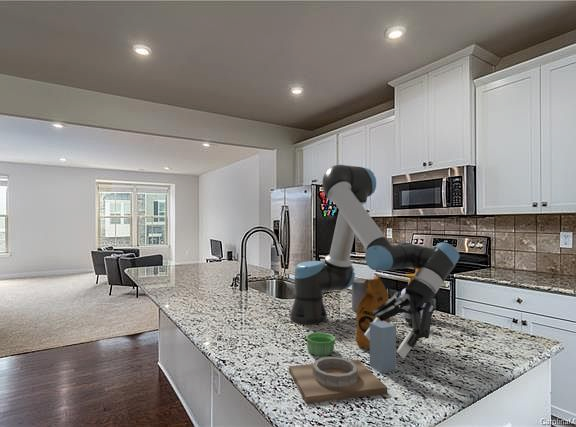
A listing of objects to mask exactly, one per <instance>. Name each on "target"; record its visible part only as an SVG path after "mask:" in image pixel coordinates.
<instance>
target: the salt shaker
mask: <svg viewBox="0 0 576 427" xmlns="http://www.w3.org/2000/svg"><path fill="white" fill-rule="evenodd" d="M403 318H404V319H405V323H406V324H405V327H406V328H410V329H413V324H412V315H410V314H407V315H405V316H404V317H403Z"/></svg>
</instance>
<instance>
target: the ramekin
mask: <svg viewBox="0 0 576 427" xmlns="http://www.w3.org/2000/svg"><path fill="white" fill-rule="evenodd" d="M305 339H306V342H307V351H308V353H310V354H311V355H314V356H321V357H327V356H330V355H332V354H333V353H334V350H335V341H336V337H335V336H334V335H333V334H330V333H327V332H311V333H309V334H307V335H306V337H305Z"/></svg>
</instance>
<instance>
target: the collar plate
mask: <svg viewBox="0 0 576 427" xmlns="http://www.w3.org/2000/svg"><path fill="white" fill-rule="evenodd" d="M288 367H289V369H288V373H289V375H290V376H291V378H292V381H293V382H294V384H295V386H296V388H297V389H298V392H299V393H300V395H301V397H302V398H303V401H304V403H305V405H306V404H308V405H309V404H315V403H323V402H331V401H332V402H333V401H339V400H348V399H355V398H356V399H357V398H365V397H373V396H381V395H388V386H387V385H386V384H385V383H384V382H382V381H381V380H380V379H379V378H378V377H377V376H376V375H375V374H374V373H373V372H372V371H371V370H370V369H369V368H368V367H367V366H365V364H363V363H362V362H361V361H360V360H359V359H351V360H350V359H347V358H343V357H338V356H328V357H327V356H324V357H321V358H318V359H316V360H314V362H313V363H309V364H298V365H297V364H296V365H288Z"/></svg>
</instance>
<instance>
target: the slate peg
mask: <svg viewBox="0 0 576 427" xmlns="http://www.w3.org/2000/svg"><path fill="white" fill-rule="evenodd" d="M396 351H397V326H396V325H395V324H393V323H388V322H386V321H379V322H372V323H370V349H369V366H370V367H371V368H373V369H374V370H376V371H377V372H379V373H380V374H383V373H389V372H393V371H396V370H397V352H396ZM388 371H389V372H388Z"/></svg>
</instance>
